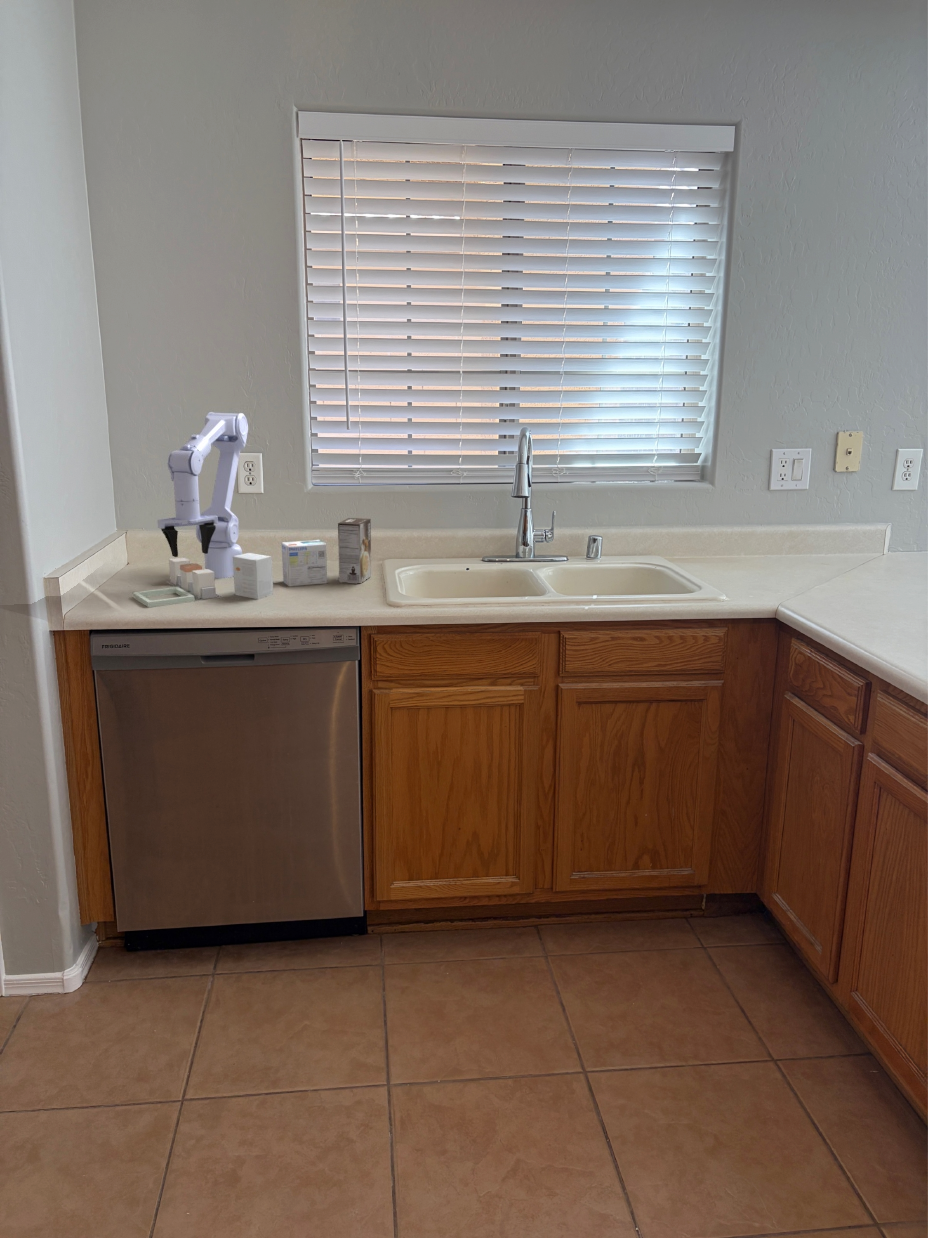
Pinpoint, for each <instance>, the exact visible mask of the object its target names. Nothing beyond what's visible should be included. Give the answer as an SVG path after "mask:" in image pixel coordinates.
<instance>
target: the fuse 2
mask: <svg viewBox="0 0 928 1238" xmlns="http://www.w3.org/2000/svg"><path fill="white" fill-rule="evenodd" d="M192 579H193V595H195V596H197V597H198V598H202V595H201V588H206V587H215V588H216V579H215V578H214V572H213V571H211V570H209V569H205V568H204V569H203V568H202V570H194V571H192Z"/></svg>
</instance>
